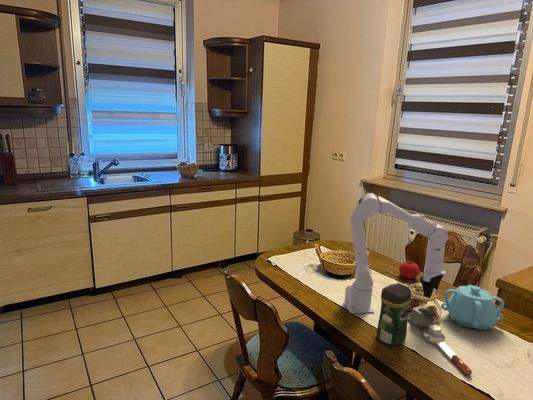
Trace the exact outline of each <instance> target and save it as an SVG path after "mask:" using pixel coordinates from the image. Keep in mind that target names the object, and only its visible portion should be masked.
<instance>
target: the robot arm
mask: <svg viewBox="0 0 533 400" xmlns="http://www.w3.org/2000/svg"><path fill="white" fill-rule="evenodd" d="M378 213H379V215H383V214H389V215H391V216H394V217H396V218H397V219H399V220H402V221H403V222H406V223H407V225H408V228H409V229H411V230H412V231H414V232H416V233H418V234H420V235H422V236H424V237H427V238H428V239H427V240H428V241H427V245H426V252H425V253H426V254H425V263H424V268H423V273H424V274H423V276H420V277H419V282H420V284H421V287H422V292H423V297H424V298H427V299H430V298H431V297H432V295H433V291H434V290H433V289H434V288H435V289H436V290H435V291H437V290H438V289H439V287H440V284H441V281H442V279H443V277H444V276H445V275H446V272H447V271H445V270H443V267H444V266H443V265H444V258H445V256H444V255H445V249H446V246H445V245H446V242H448V240H449V238H450V237H449V234H448V232H447V230H446V229H445V227H444V226H442V225H441V224H440V223H438V222H436V221H431V220H430V219H428V218H426V216H425V215H424V214H423V213H421V214H419V213H414V214H411V213H410V212H408V211H406V210H405V209H403V208H401V207H399V206H398V205H396V204H395V203H392V202H391V201H390V200H388V199H386V198H384V197H382V196H379V195H378V196H377V194H375V193H372V192H368V193H365V194H363V195H362V196H361V197H360V198H359V199H358V200H357V203H356V205H355V207H354V208H353V210H352V212H351V214H350V220H349V221H350V227H351V235H352V243H353V251H354V259H355V267H356V268H355V270H354V276H355V280H354V281H353V283H352V285H348V286H346V287H345V292H344V301H343V304H344V306H345V308H346V309H347V310H348V311H349V313H350V314H363V313H364V314H366V313H370V314H371V313H375V310H374V309H373V307H372V306H371V305H372V295H373V287H374V280H373V276H372V275H373V274H372V270H371V268H370V266H369V259H368V251H367V244H366V233H365V226H364V223H365V222H366V221H367V220H369V218H371V217H373V216H375V215H377V214H378Z"/></svg>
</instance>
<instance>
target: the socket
mask: <svg viewBox="0 0 533 400" xmlns="http://www.w3.org/2000/svg"><path fill="white" fill-rule="evenodd" d="M434 316H435V313H434V312H433V311H431V310H430V309H428V308H427V307H425V306H424V305H422V306H417V307H413V308H411V316H410V320H409V321H410V322H409V324H410V325H411V326H413V327H414V328H416V329H418V330H419V331H420V332H422V331H423V332H424V331H425V330H429V327H430V326H431V325H433V323H434V322H433V321H434Z"/></svg>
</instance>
